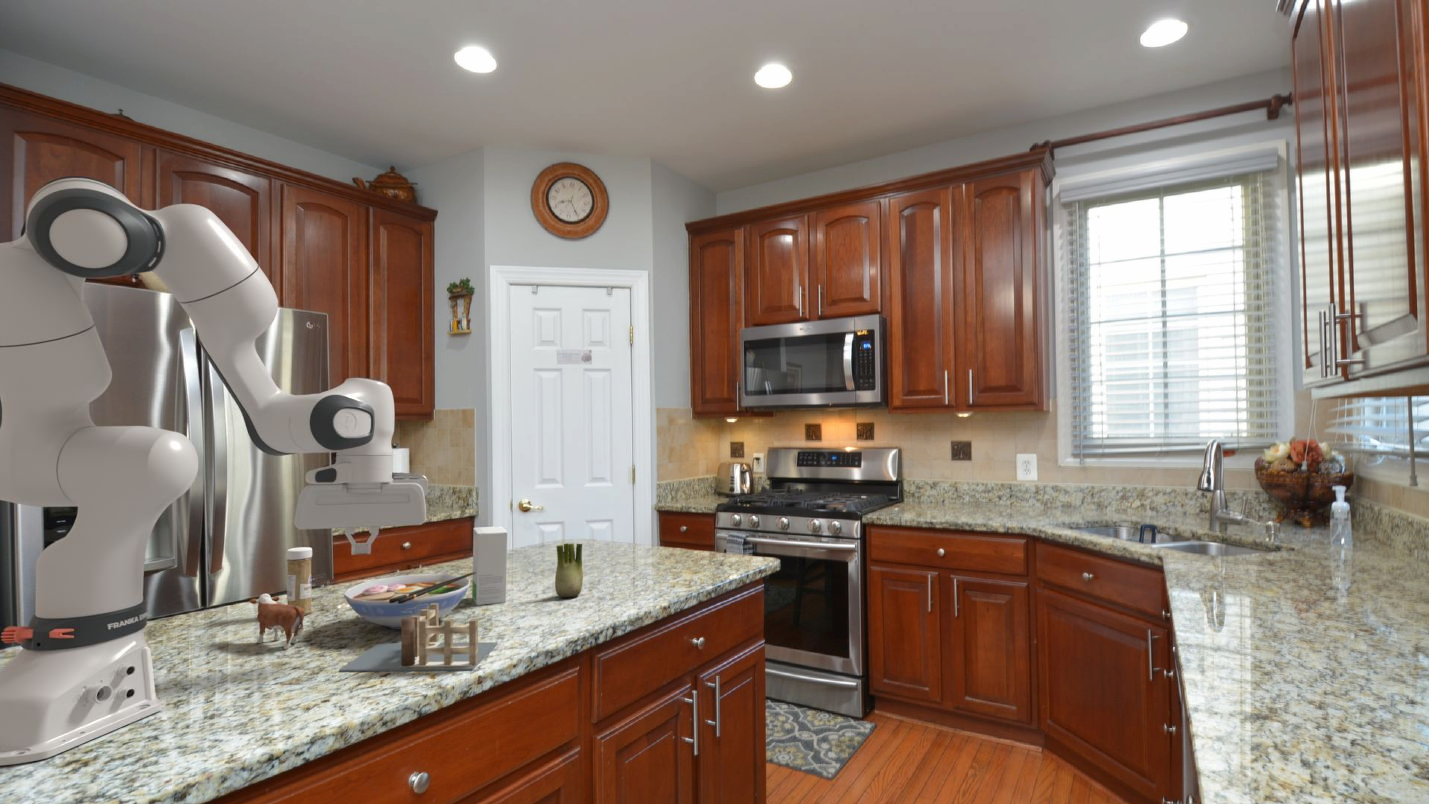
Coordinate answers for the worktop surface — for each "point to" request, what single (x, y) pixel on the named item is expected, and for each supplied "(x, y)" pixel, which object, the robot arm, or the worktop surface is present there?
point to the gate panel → (433, 620)
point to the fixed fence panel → (448, 641)
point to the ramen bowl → (406, 596)
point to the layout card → (390, 659)
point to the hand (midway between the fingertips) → (361, 554)
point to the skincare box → (489, 565)
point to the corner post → (408, 642)
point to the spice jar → (299, 578)
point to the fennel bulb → (569, 570)
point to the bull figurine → (279, 618)
